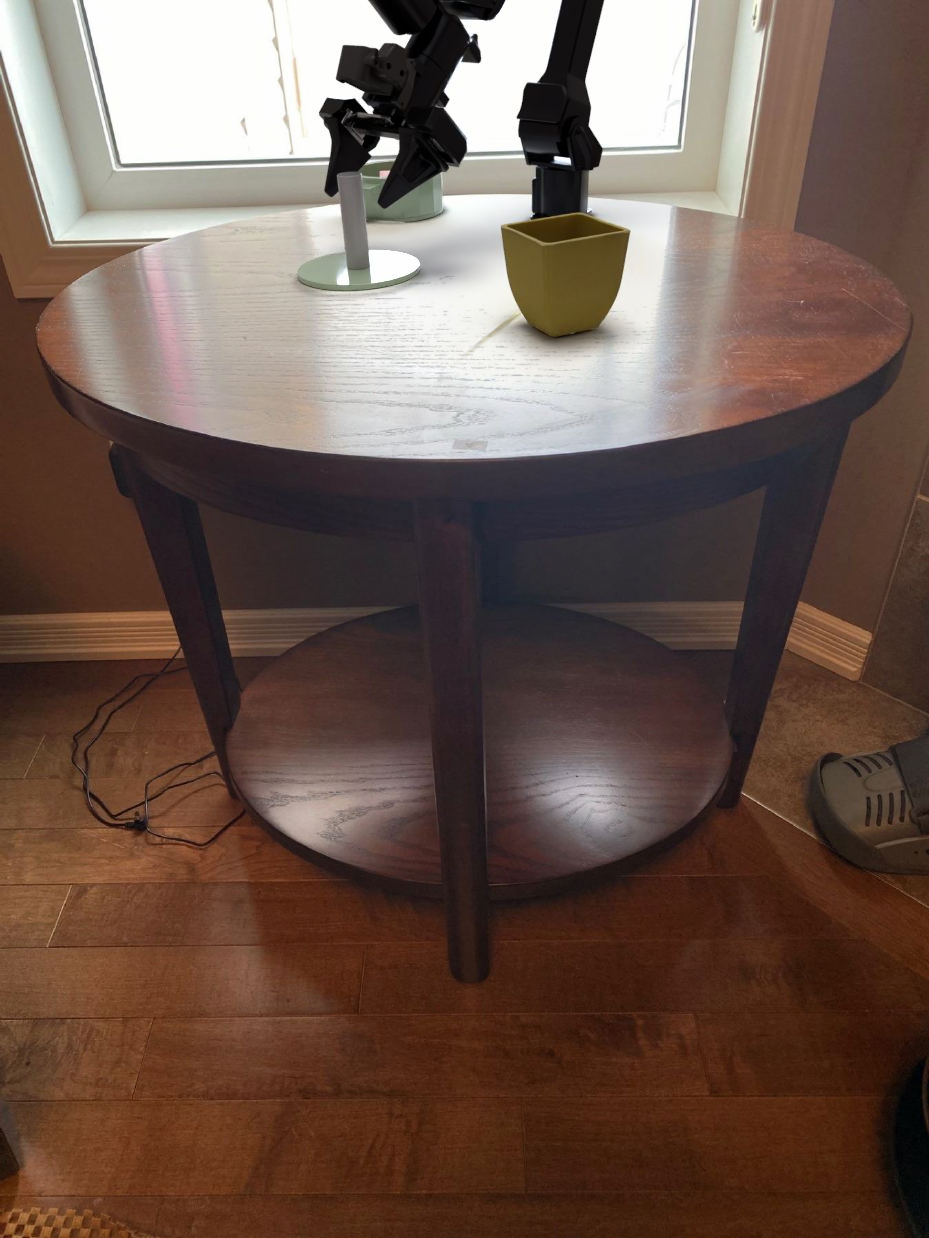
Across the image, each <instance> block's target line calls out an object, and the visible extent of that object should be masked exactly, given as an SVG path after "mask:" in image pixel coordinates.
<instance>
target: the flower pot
mask: <svg viewBox="0 0 929 1238" xmlns="http://www.w3.org/2000/svg"><path fill="white" fill-rule="evenodd" d="M500 232H501V240H502V249H503V256H504V263H505V268H506V269H505V270H506V276H507V281H508V285H509V289H510V291H511V294H512V296H513V299H514V302H515V303H516V306H517V307H518V309H519V311H520V312H521V314H522V316H523V318H524V320H525V321H526V323H527V324H528V325H530V326H533V327H534V328H536V329H537V330H539V331H541V332H543V333H545V334H546V335H547V336H549V337H554V338H555V337H561V336H565V335H570V334H575V333H579V332H584V331H590V330H595V329H598V328H599V326H600V325H601V324H602V323H603V321H604V320H605V319H606V317H607V316H608V314H609V313H610V311H611V309H612V307H613V306H614V303H615V301H616V299H617V297H618V294H619V291H620V289H621V285H622V280H623V275H624V271H625V265H626V258H627V254H628V253H627V252H628V247H629V243H630V242H629V241H630V235H631V229H629V228H627V227H625V226H621V225H617V224H615V223H612V222H609V221H606V220H603V219H600V218H598V217H595V216H593V215H591V214H589V215H588V214H584V213H572V214H566V215H560V216H554V217H548V218H541V219H535V220H530V219H529V220H523V221H516V222H510V223H504V224H500Z"/></svg>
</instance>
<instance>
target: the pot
mask: <svg viewBox="0 0 929 1238" xmlns="http://www.w3.org/2000/svg"><path fill="white" fill-rule="evenodd" d="M394 161H395V159H386V160H377V161H370V162H366V164H365V165H364V166H363V167H362V168H361V169H360V170H359V171H358V172H360V173H361V174H362V184H363V194H364V204H365V215H366V220H370V221H382V222H396V223H410V222H411V223H412V222H417V221H422V220H427V219H430V218H434V217H437V216H438V215H440V214H442V213H443V212H444V206H445V205H444V204H445V202H444V201H445V199H444V183H443V181H444V180H443V179H444V178H443V172H441V173H439V174H438V175H436V176H434V177H433V178H431V179H429V180H428V181H426V182H425V183H423V184H421V185H420V186H418V187H417V188H415V189H414V190H412V191H411V192H409V193H408V194H406V195H405V196H403V197H402V198H400V199H399V200H398V201H396V202H395V203H393V204H392V205H390V206H389V207H388V208H386V209H383V208H381V207H380V206H379V205H378V203H377V201H378V198H379V195H380V193H381V190H382V187H383V185H384V183H385V181H386V179H387V177H380V171H390V170H391V168H392V166H393V164H394Z"/></svg>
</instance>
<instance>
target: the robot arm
mask: <svg viewBox="0 0 929 1238" xmlns="http://www.w3.org/2000/svg"><path fill="white" fill-rule="evenodd" d="M367 2H368V3H369V4H370V6H371V7H372V8H373V10H374V11H375V12H376V13H377V14H378V15H379V17H380V19H381V20H382V21H383V22H384V23H385V25H386V26H387V28H388V29H389V31H390V32H391V33H392V34H394V35H395V36H404V35H407V36H409V38H408V39H407V41H406V42H405V43H406V44H405V45H404V46H401V45H400V44H398V43H397V42H395V43H394V42H384V43H382V45H381V46H380V48H377V47H369V46H368V45H367V46H366V45H356V44H355V45H354V44H343V45H342V47H341V51H340V57H339V62H338V66H337V70H336V76H335V80H336V81H337V82H339V83H341V84H348V85H349V86H351V87H353V88H355V89H357V90H359V91H361V92H363V93H362V95H361V99H362V100H363V102H364V103H365V104H366V105H367V106H368V107H371V108H372V109H373V110H372V113H368V111H367V110H366V109H365V108H364V107H363V105H361V103H360V102H359V101H358V100H357V99H356V97H348V96H340V95H334V96H327V97H326V98H325V100H324V102H323V104H322V106H321V107H320V110H319V111H318V115H319V117H320V118H321V120H323V126H324V127H325V128H326V129H327V130H328V133H329V136H330V139H331V140H330V143H331V144H330V153H329V159H328V160H329V162H328V165H327V172H326V178H325V182H324V183H325V184H324V190H323V191H324V193H325V194H326V195H327V196H328V197H330V198H334V197H335V196H336V195H337V194H339V191H338V182H337V174H339V173H343V172H358V171H359V170H360V169H361V168H362V167H363V166H364V165H365V164H366V163H368V161H369V160H371V158H372V155H371V153H370V152H372V151H373V150H374V149H376V148H377V146H378V144H379V143H380V141H381V138H388V139H394V140H395V141H398V152H397V155H396V156H395V158H394V160H395V161H394V164H393V166H392V168H391V170H390V172H389V174H388V177H387V179H386V181H385V183H384V185H383V187H382V190H381V193H380V195H379V198H378V201H377V203H378V205H379V206H380V207H381V208H383V209H386V208H388V207H389V206H390V205H392V204H393V203H395V202H396V201H398V200H399V199H400V198H402V197H403V196H405V195H406V194H408V193H409V192H411V191H412V190H414V189H415V188H417V187H418V186H420V185H421V184H423V183H425V182H426V181H428V180H429V179H431V178H433V177H434V176H436V175H438V174H439V173H441V172H442V173H447V172H448V171H449V169H450V167H454V168H460V166H461V165H462V163H463V160H464V159H465V157H466V155H467V154H468V137H467V136H466V134H465V133H464V132H463V130H462V129H461V128H460V127H459V125H458V124H457V123H456V122H455V121H454V119H453V118H452V117H451V116H450V114H449V112H448V111H447V110H446V109H445V108H446V107H447V106H448V104H449V102H450V98H449V96H448V95H447V94H446V92H445V91H446V89H447V87H448V86H449V84H450V82H451V80H452V78H453V76H454V75H455V73H456V71H457V69H458V68H459V65H460V64H461V63H468V64H480V63H481V62H482V51H481V49H480V45H479V35H478V33H471V32H469V31H468V29H467V28H466V27H465V25H464V23H463V22H462V21H468V22H469V21H471V22H472V21H473V22H490V21H492V20H495V18H497V17H498V16H499V15H500V13H501V12H502V10H503V8H504V6H505V4H506V2H507V0H367ZM604 3H605V0H561V1H560V5H559V10H558V14H557V19H556V22H555V23H556V24H555V27H554V33H553V36H552V41H551V46H550V50H549V54H548V58H547V62H546V63H547V64H546V68H545V71H544V72H543V73H542V75H541V76H540V77H539V79H538V80H537V82H533V81H532V82H530V81H527V82H526V83H525V85H524V88H523V91H522V100H521V103H520V104H521V105H520V108H519V110H518V113H517V115H516V120H519V121H518V127H517V136H518V138H519V139H520V143H521V148H522V152H523V156H524V160H525V164H526V166H529V167H530V166H535V177H534V178H533V179H531V212H532V215H530V216H529V217H530V219H529V220H535V219H541V218H548V217H554V216H560V215H566V214H572V213H584V214H588V215H591V214H592V213H593V211H592V210H593V209H592V208H589V207H588V206H589V182H590V181H589V180H590V172H591V171H594V169H595V168H599V167H600V163H601V160H602V155H603V151H604V148H603V147H602V144H601V143H600V142H599V140H598V138H597V137H596V135H595V134H594V132H593V130H592V129H591V127H590V120H591V112H592V104H591V101H590V100H591V99H590V96H589V92H588V88H587V83H586V81H587V80H586V79H587V75H588V70H589V66H590V62H591V59H592V54H593V50H594V45H595V42H596V37H597V33H598V29H599V25H600V20H601V17H602V16H601V15H602V12H603V8H604Z"/></svg>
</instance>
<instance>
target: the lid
mask: <svg viewBox="0 0 929 1238" xmlns="http://www.w3.org/2000/svg"><path fill="white" fill-rule="evenodd" d="M337 182H338V191H339V192H338V198H339V199H338V200H339V208H340V216H341V226H342V235H343V242H344V243H343V244H344V251H340V252H334V253H330V254H326V255H322V256H318V257H315V258H312V259H310V260H307V261H305V262H304V263H302V264H301V265H300V266H299V267H298V269H297V278H298V281H300V282H301V283H302V284H304V285H306V286H309V287H312V288H315V289H321V290H326V291H327V290H329V291H346V292H347V291H349V292H350V291H364V290H365V291H366V290H373V289H380V288H386V287H390V286H394V285H398V284H401V283H403V282H406V281H409V280H411V279H413V278H414V277H415V276H417V275H418V274H419V272H420V271H421V263H420V261H419V259H418V258H417V257H415V256H413V255H412V254H409V253H404V252H401V251H394V250H386V249H385V250H384V249H370V248H369V247H370V246H369V238H368V236H369V235H368V226H367V219H366V215H365V204H364V194H363V184H362V174H361V173H360V172H343V173H339V174H337Z"/></svg>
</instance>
